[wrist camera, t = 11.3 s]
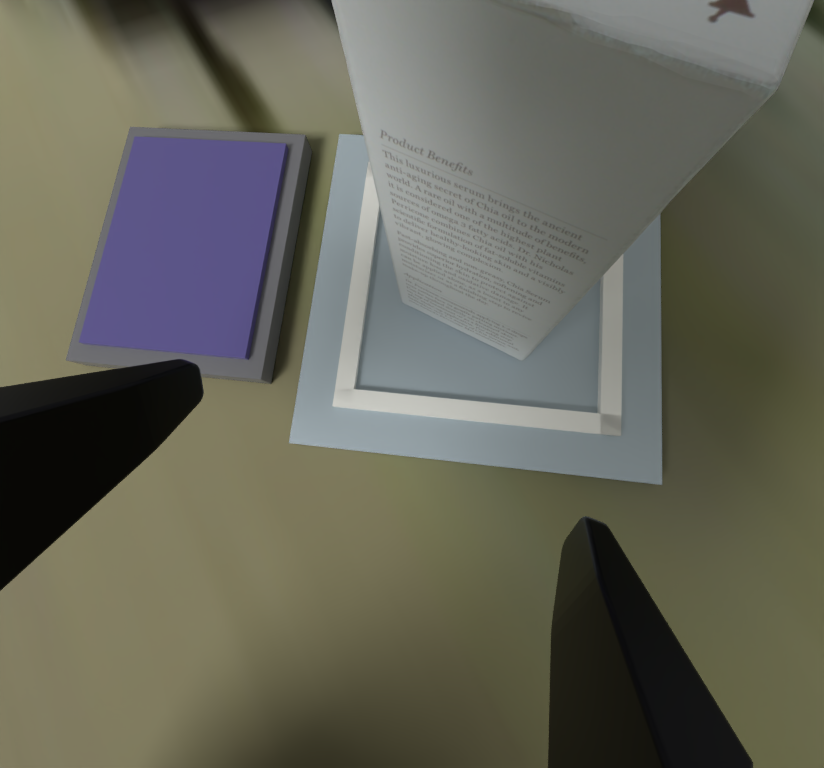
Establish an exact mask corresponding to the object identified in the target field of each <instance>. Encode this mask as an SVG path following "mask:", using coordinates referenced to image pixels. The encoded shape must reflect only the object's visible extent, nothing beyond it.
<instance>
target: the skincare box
mask: <svg viewBox="0 0 824 768" xmlns="http://www.w3.org/2000/svg"><path fill="white" fill-rule="evenodd" d="M813 2H814V0H332V4H333V8H334V12H335V16H336V20H337V24H338V29H339V33H340V38H341V42H342V46H343V50H344V54H345V58H346V62H347V67H348V72H349V76H350V80H351V84H352V88H353V93H354V97H355V101H356V105H357V110H358V114H359V118H360V122H361V127H362V131H363V135H364V140H365V144H366V148H367V153H368V157H369V162H370V166H371V170H372V174H373V179H374V184H375V188H376V193H377V197H378V202H379V206H380V210H381V214H382V219H383V223H384V227H385V232H386V236H387V241H388V245H389V249H390V254H391V259H392V263H393V267H394V272H395V276H396V280H397V285H398V289H399V293H400V297H401V300H402V302H403V303H404V304H406V305H409V306H411V307H413V308H415V309H417V310H419V311H421V312H423V313H425V314H427V315H429V316H431V317H433V318H435V319H437V320H439V321H441V322H443V323H445V324H447V325H449V326H451V327H453V328H455V329H457V330H460V331H462V332H464V333H466V334H468V335H470V336H472V337H474V338H476V339H478V340H480V341H482V342H484V343H486V344H488V345H491V346H493V347H495V348H497V349H499V350H501V351H503V352H505V353H507V354H509V355H511V356H513V357H515V358H517V359H518V360H521V361H523V360H525V359H526V358H527V357H528V356H529V355H530V354H531V353H532V352H533V350H534V349H535V348H536V347H537V346H538V345H539V344H540V343H541V342H542V341H543V340H544V339H545V337H546V336H547V335H548V334H549V333H550V332H551V331H552V330H553V328H554V327H555V326H556V325H558V324H559V322H560V321H561V320H562V319H563V318H564V317H565V316H566V315H567V314H568V313H569V312H570V311H571V310H572V309H573V308H574V306H575V305H576V304H577V303H578V302H579V301H580V300H581V299H582V298H583V297H584V296H585V294H586V293H587V292H588V291H589V290H590V289H591V288H592V287H593V286H594V285H595V284H596V283H597V282H598V281H599V279H600V278H601V277H602V276H603V275H604V274H605V273H606V272H607V271H608V270H609V269H610V267H611V266H612V265H613V264H614V263H615V262H616V261H617V260H618V259H619V258H620V257H621V256H622V254H623V253H624V252H625V251H626V250H627V249H628V248H629V247H630V246H631V245H632V244H633V243H634V242H635V240H636V239H637V238H638V237H639V236H640V235H641V234H642V232H643V231H644V230H645V229H646V228H647V227H648V226H649V225H650V224H651V223H652V222H653V221H654V220H655V219H656V217H657V216H658V215H659V214H660V213H661V212H662V211H663V209H664V208H665V207H666V206H667V205H668V204H669V202H670V201H671V200H672V199H673V198H674V197H675V196H676V195H677V194H678V193H679V192H680V191H681V190H682V189H683V187H684V186H685V185H686V184H687V183H688V182H689V181H690V180H691V179H692V178H693V177H694V176H695V175H696V174H697V173H698V172H699V171H700V170H701V169H702V168H703V167H704V166H705V165H706V164H707V163H708V162H709V160H710V159H711V158H712V157H713V156H714V155H715V154H716V153H717V152H718V151H719V150H720V149H721V148H722V147H723V146H724V145H725V144H726V143H727V142H728V141H729V139H730V138H731V137H732V136H733V135H734V134H735V133H736V132H737V131H738V130H739V129H740V128H741V127H742V126H743V125H744V124H745V123H746V122H747V121H748V120H749V119H750V118H751V117H752V116H753V115H754V113H755V112H756V111H757V110H758V109H759V108H760V107H761V106H762V105H763V104H764V103H765V102H766V101H767V100H768V99H769V98H770V97H771V96H772V95H773V94H774V93H775V92H776V91H777V89H778V87H779V85H780V82H781V80H782V78H783V75H784V73H785V70H786V68H787V66H788V63H789V61H790V58H791V56H792V53H793V51H794V48H795V46H796V43H797V41H798V38H799V36H800V33H801V31H802V29H803V26H804V24H805V21H806V19H807V16H808V14H809V11H810V9H811V7H812V4H813Z"/></svg>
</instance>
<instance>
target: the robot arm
mask: <svg viewBox="0 0 824 768" xmlns="http://www.w3.org/2000/svg"><path fill="white" fill-rule="evenodd" d="M203 394H204V391H203V385H202V378H201V372H200V368H199V367H198V365H196V364H195V363H192V362H190V361H187V360H184V359H174V360H168V361H162V362H156V363H149V364H143V365H137V366H131V367H124V368H118V369H112V370H106V371H99V372H93V373H87V374H81V375H74V376H68V377H62V378H56V379H49V380H43V381H37V382H31V383H24V384H18V385H12V386H6V387H0V591H1V590H2V589H3V588H4V587H5V586H6V585H7V584H8V583H10V582H11V581H12V580H13V579H14V578H15V577H16V576H17V575H18V574H19V573H21V572H22V571H23V570H24V569H25V568H26V567H27V566H28V565H29V564H31V563H32V562H33V561H34V560H35V559H36V558H37V557H38V556H39V555H40V554H42V553H43V552H44V551H45V550H46V549H47V548H48V547H49V546H50V545H51V544H53V543H54V542H55V541H56V540H57V539H58V538H59V537H60V536H61V535H63V534H64V533H65V532H66V531H67V530H68V529H69V528H70V527H71V526H72V525H74V524H75V523H76V522H77V521H78V520H79V519H80V518H81V517H82V516H84V515H85V514H86V513H87V512H88V511H89V510H90V509H91V508H92V507H93V506H95V505H96V504H97V503H98V502H99V501H100V500H101V499H102V498H103V497H105V496H106V495H107V494H108V493H109V492H110V491H111V490H112V489H113V488H114V487H116V486H117V485H118V484H119V483H120V482H121V481H122V480H123V479H124V478H125V477H127V476H128V475H129V474H130V473H131V472H132V471H133V470H134V469H135V468H137V467H138V466H139V465H140V464H141V463H142V462H143V461H144V460H145V459H146V458H148V457H149V456H150V455H151V454H152V453H153V452H154V451H155V450H156V449H157V448H158V447H159V446H160V445H161V444H162V443H163V442H164V441H165V440H166V439H167V437H168V436H169V435H170V434H171V433H172V432H173V431H174V430H175V429H176V428H177V427H178V425H179V424H180V423H181V422H182V421H183V420H184V419H185V418H186V417H187V416H188V415H189V413H190V412H191V411H192V410H193V409H194V408H195V407H196V406H197V405H198V404H199V402H200V401H201V400H202V397H203ZM548 768H753V762H752V760H751V758H750V757H749V755H748V754H747V752H746V750H745V749H744V747H743V745H742V744H741V742H740V740H739V739H738V737H737V736H736V734H735V732H734V731H733V729H732V727H731V726H730V724H729V723H728V721H727V719H726V718H725V716H724V714H723V713H722V711H721V710H720V708H719V706H718V705H717V703H716V701H715V700H714V698H713V697H712V695H711V693H710V692H709V690H708V688H707V687H706V685H705V684H704V682H703V680H702V679H701V677H700V675H699V674H698V672H697V671H696V669H695V667H694V666H693V664H692V662H691V661H690V659H689V658H688V656H687V654H686V653H685V651H684V649H683V648H682V646H681V645H680V643H679V641H678V640H677V638H676V636H675V635H674V633H673V631H672V630H671V628H670V627H669V625H668V623H667V622H666V620H665V618H664V617H663V615H662V614H661V612H660V610H659V609H658V607H657V605H656V604H655V602H654V601H653V599H652V597H651V596H650V594H649V592H648V591H647V589H646V588H645V586H644V584H643V583H642V581H641V579H640V578H639V576H638V575H637V573H636V571H635V570H634V568H633V566H632V565H631V563H630V562H629V560H628V558H627V557H626V555H625V553H624V552H623V550H622V549H621V547H620V545H619V544H618V542H617V540H616V539H615V537H614V536H613V534H612V532H611V531H610V529H609V528H608V526H607V525H606V524H604V523H603V522H600V521H598V520H595V519H592V518H590V517H586V516H585V517H582V518H581V519H580V520H579V521H578V523H577V524H576V526H575V527H574V528H573V530H572V531H571V532H570V534H569V535H568V537H567V538H566V540H565V542H564V544H563V547H562V552H561V560H560V567H559V574H558V582H557V589H556V596H555V603H554V611H553V619H552V629H551V660H550V705H549V750H548Z"/></svg>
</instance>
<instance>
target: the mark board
mask: <svg viewBox="0 0 824 768" xmlns="http://www.w3.org/2000/svg"><path fill="white" fill-rule="evenodd" d="M289 443H294V444H303V445H312V446H321V447H330V448H338V449H347V450H356V451H365V452H374V453H383V454H392V455H401V456H410V457H419V458H428V459H436V460H445V461H454V462H463V463H472V464H481V465H490V466H499V467H508V468H517V469H526V470H534V471H543V472H552V473H561V474H570V475H579V476H588V477H597V478H606V479H615V480H623V481H632V482H641V483H650V484H659V485H662V377H661V223H660V214H659V215H658V216H657V217H656V219H655V220H654V221H653V222H652V223H651V224H650V225H649V226H648V227H647V228H646V229H645V230H644V231H643V232H642V234H641V235H640V236H639V237H638V238H637V239H636V240H635V242H634V243H633V244H632V245H631V246H630V247H629V248H628V249H627V250H626V251H625V252H624V253H623V254H622V256H621V257H620V258H619V259H618V260H617V261H616V262H615V263H614V264H613V265H612V266H611V267H610V269H609V270H608V271H607V272H606V273H605V274H604V275H603V276H602V277H601V278H600V279H599V281H598V282H597V283H596V284H595V285H594V286H593V287H592V288H591V289H590V290H589V291H588V292H587V293H586V294H585V296H584V297H583V298H582V299H581V300H580V301H579V302H578V303H577V304H576V305H575V306H574V308H573V309H572V310H571V311H570V312H569V313H568V314H567V315H566V316H565V317H564V318H563V319H562V320H561V321H560V322H559V324H558V325H556V326H555V327H554V328H553V330H552V331H551V332H550V333H549V334H548V335H547V336H546V337H545V339H544V340H543V341H542V342H541V343H540V344H539V345H538V346H537V347H536V348H535V349H534V350H533V352H532V353H531V354H530V355H529V356H528V357H527V358H526V359H525V360H523V361H521V360H518V359H517V358H515V357H513V356H511V355H509V354H507V353H505V352H503V351H501V350H499V349H497V348H495V347H493V346H491V345H488V344H486V343H484V342H482V341H480V340H478V339H476V338H474V337H472V336H470V335H468V334H466V333H464V332H462V331H460V330H457V329H455V328H453V327H451V326H449V325H447V324H445V323H443V322H441V321H439V320H437V319H435V318H433V317H431V316H429V315H427V314H425V313H423V312H421V311H419V310H417V309H415V308H413V307H411V306H409V305H406V304H404V303H403V302H402V300H401V297H400V293H399V289H398V285H397V280H396V276H395V272H394V267H393V263H392V259H391V254H390V249H389V245H388V241H387V236H386V232H385V227H384V223H383V219H382V214H381V210H380V206H379V202H378V197H377V193H376V188H375V184H374V179H373V174H372V170H371V166H370V162H369V157H368V153H367V148H366V144H365V140H364V135H348V134H339V140H338V147H337V153H336V159H335V165H334V171H333V177H332V183H331V189H330V195H329V202H328V208H327V214H326V220H325V226H324V232H323V238H322V244H321V250H320V257H319V263H318V269H317V275H316V281H315V287H314V293H313V299H312V305H311V312H310V318H309V324H308V330H307V336H306V342H305V348H304V354H303V360H302V367H301V373H300V379H299V385H298V391H297V397H296V403H295V409H294V415H293V422H292V428H291V434H290V440H289Z"/></svg>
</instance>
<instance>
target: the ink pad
mask: <svg viewBox="0 0 824 768" xmlns="http://www.w3.org/2000/svg"><path fill="white" fill-rule="evenodd" d="M311 155H312V150H311V147H310V145H309V142H308V140H307V138H306V135H299V134H277V133H255V132H233V131H210V130H188V129H166V128H144V127H130V129H129V133H128V136H127V140H126V144H125V147H124V151H123V154H122V158H121V162H120V165H119V169H118V173H117V176H116V180H115V183H114V187H113V191H112V194H111V198H110V202H109V205H108V209H107V212H106V216H105V220H104V223H103V227H102V231H101V234H100V238H99V241H98V245H97V249H96V252H95V256H94V260H93V263H92V267H91V270H90V274H89V278H88V281H87V285H86V289H85V292H84V296H83V299H82V303H81V307H80V310H79V314H78V318H77V321H76V325H75V328H74V332H73V336H72V339H71V343H70V347H69V350H68V354H67V357H66V360H67V361H71V362H75V363H79V364H83V365H88V366H98V367H108V368H124V367H131V366H137V365H143V364H149V363H156V362H162V361H168V360H174V359H184V360H187V361H190V362H192V363H195V364H196V365H198V367H199V368H200V372H201V377H208V378H218V379H228V380H238V381H248V382H258V383H268V384H271V382H272V376H273V370H274V365H275V359H276V353H277V348H278V342H279V336H280V331H281V325H282V319H283V314H284V308H285V302H286V297H287V291H288V285H289V280H290V274H291V268H292V263H293V257H294V251H295V246H296V240H297V234H298V229H299V223H300V217H301V212H302V206H303V200H304V195H305V189H306V183H307V178H308V172H309V166H310V161H311Z"/></svg>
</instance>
